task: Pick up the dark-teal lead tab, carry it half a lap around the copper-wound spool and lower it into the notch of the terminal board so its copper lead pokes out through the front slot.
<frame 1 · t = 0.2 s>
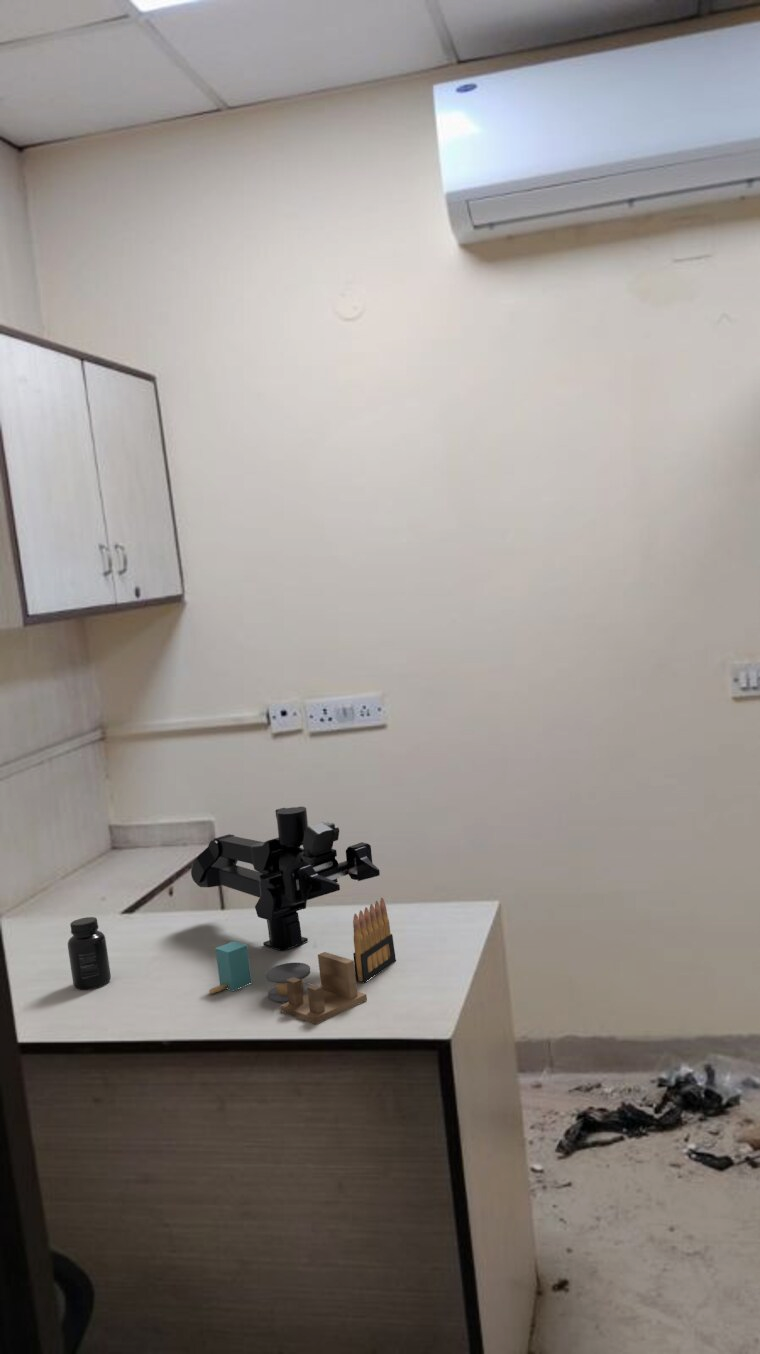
hand: (359, 879, 181), 17 cm above the table, tool horizontal, fingers open, 9 cm apart
ammunition clip: (376, 972, 182), on the table
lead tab: (236, 985, 183), on the table
notch board: (324, 1005, 169), on the table
spool: (290, 993, 176), on the table
supplement bottle: (92, 984, 191), on the table
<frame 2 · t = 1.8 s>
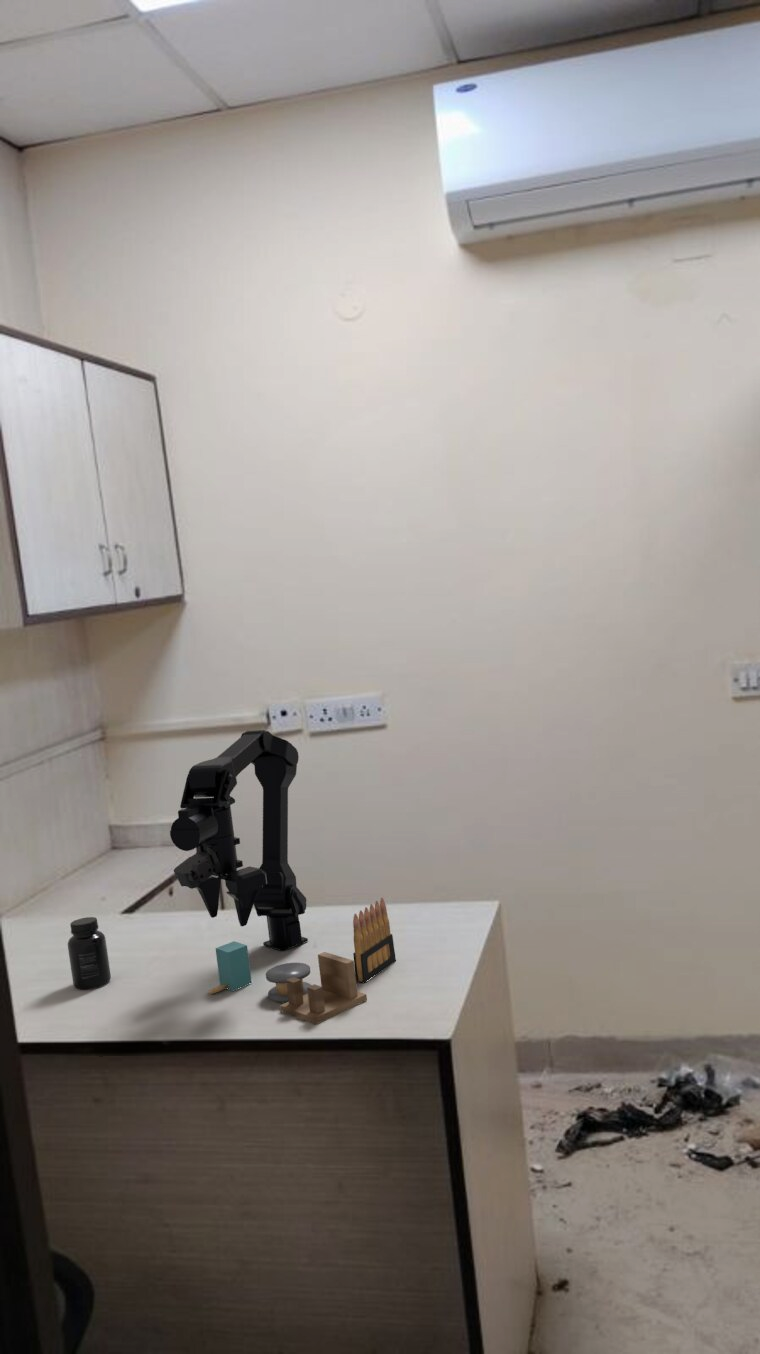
hand: (228, 921, 182), 12 cm above the table, tool pointing down, fingers open, 9 cm apart
nothing on the table moved.
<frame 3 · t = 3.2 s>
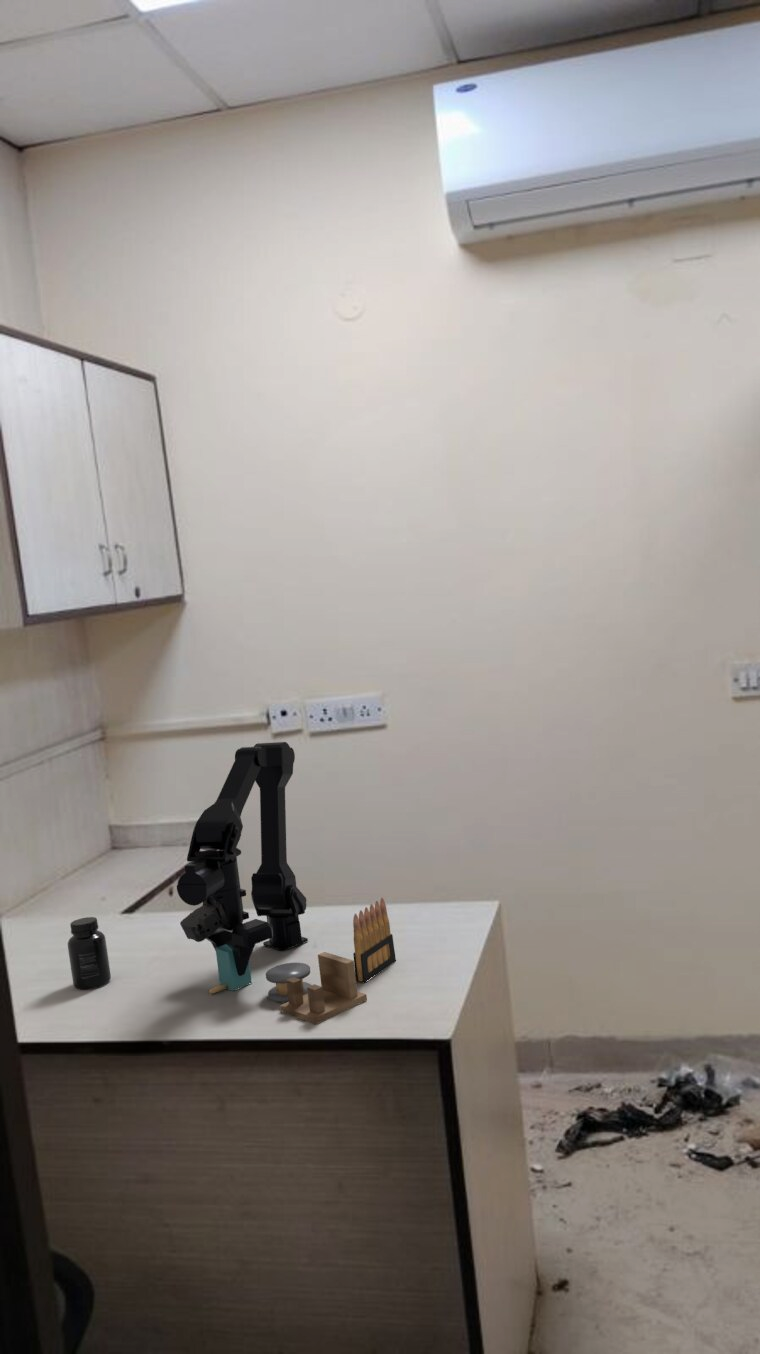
hand: (234, 972, 183), 2 cm above the table, tool pointing down, fingers closed on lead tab, 4 cm apart
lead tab: (236, 984, 183), on the table, touching gripper
everything else where it was.
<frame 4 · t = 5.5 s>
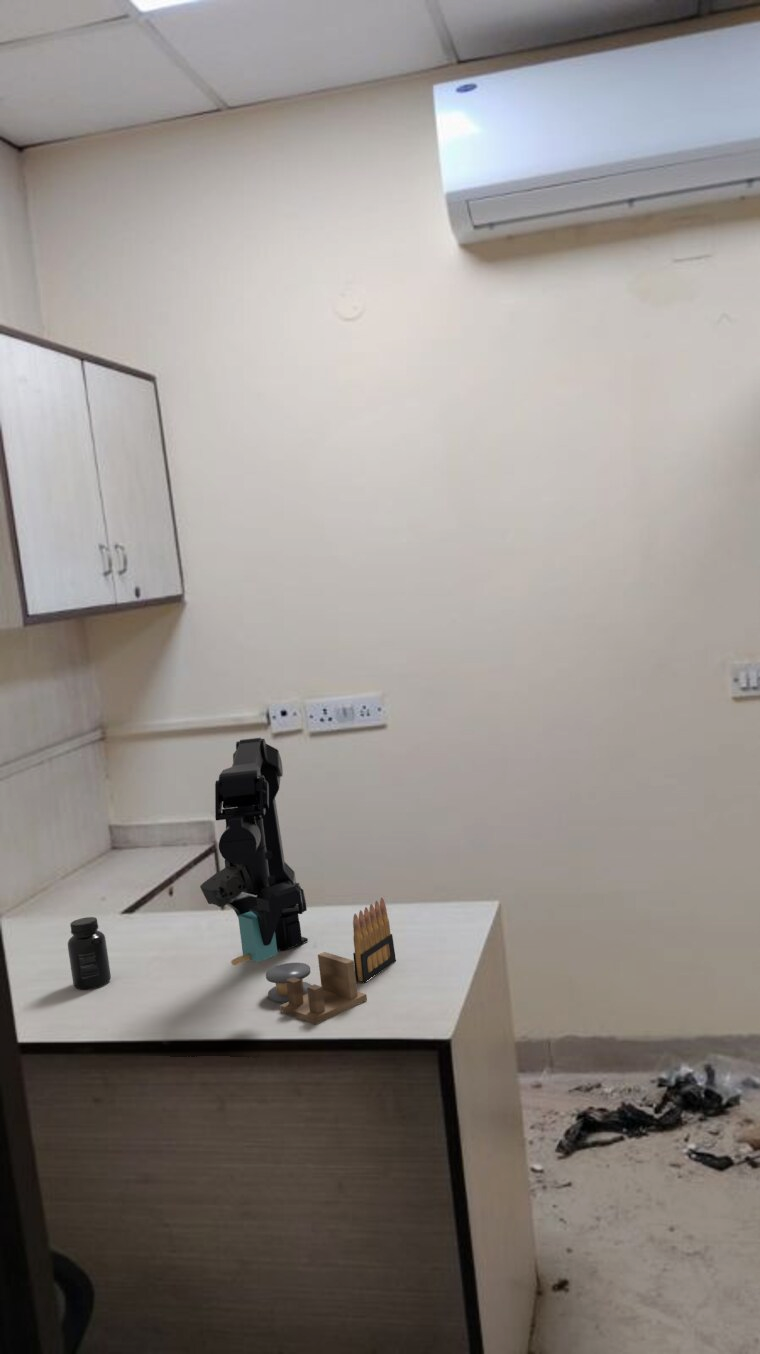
hand: (259, 942, 167), 12 cm above the table, tool pointing down, fingers closed on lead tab, 4 cm apart
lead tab: (260, 955, 167), point 10 cm above the table, touching gripper
everything else where it was.
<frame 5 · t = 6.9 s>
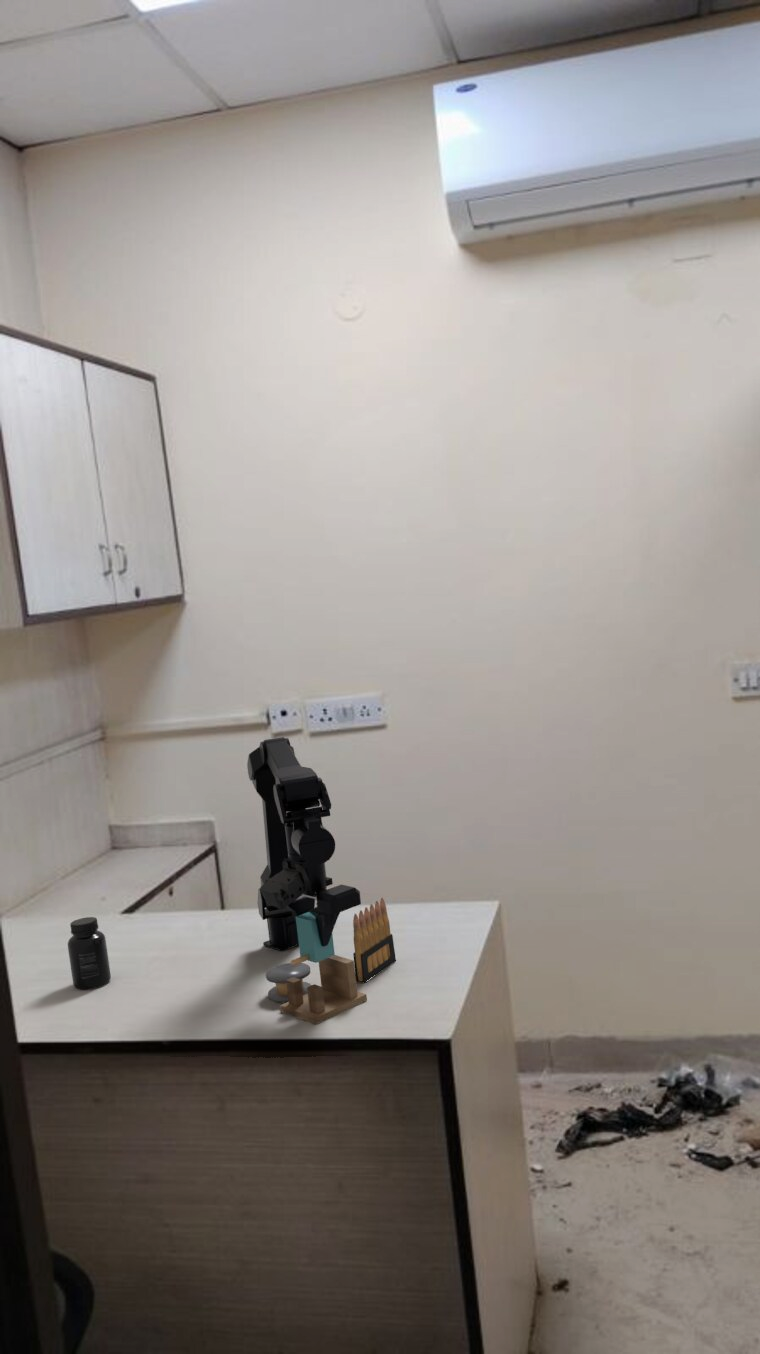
hand: (316, 943, 169), 11 cm above the table, tool pointing down, fingers closed on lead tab, 4 cm apart
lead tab: (317, 956, 169), point 8 cm above the table, touching gripper
everything else where it was.
when the fingers open (5 cm above the table, at t = 8.1 s): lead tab drops 2 cm, resting on notch board.
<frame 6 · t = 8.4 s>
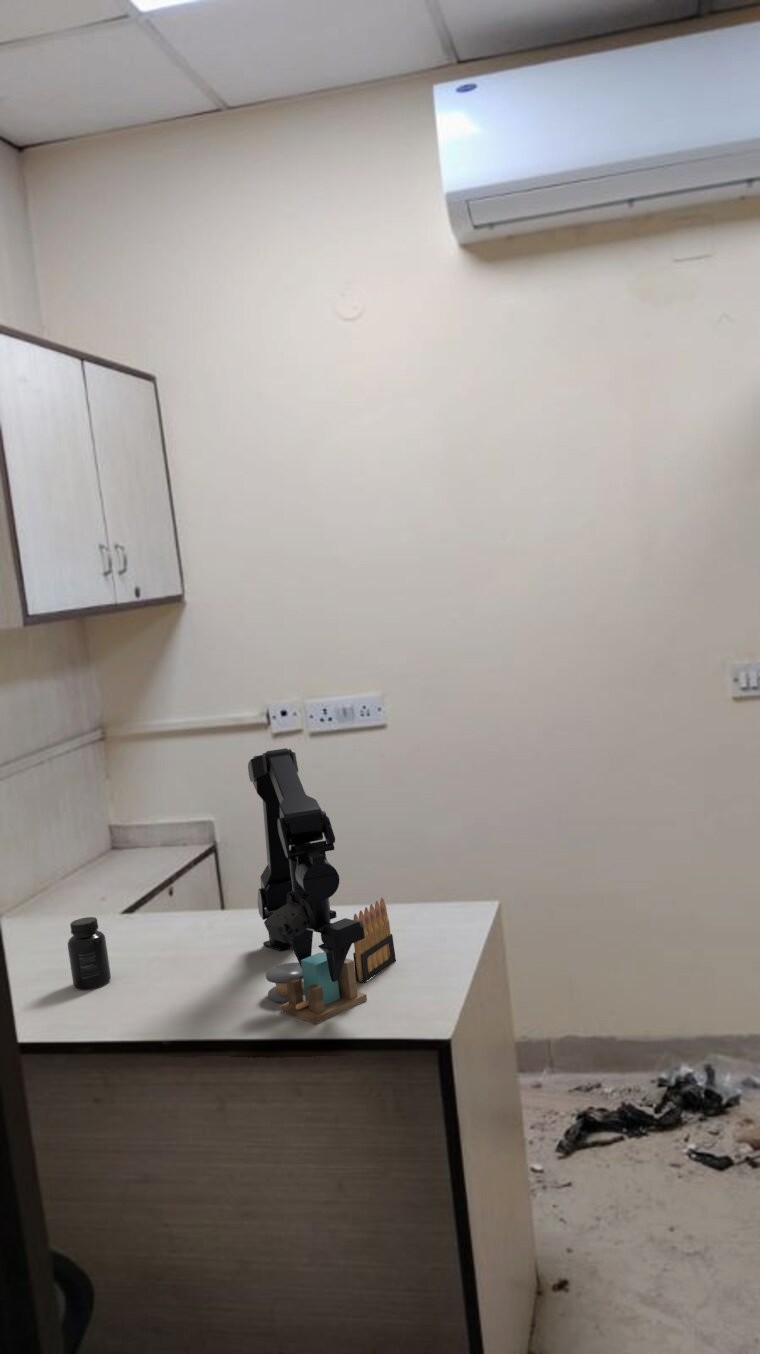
hand: (320, 976, 169), 5 cm above the table, tool pointing down, fingers open, 7 cm apart
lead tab: (322, 999, 169), point 1 cm above the table, touching notch board
everything else where it was.
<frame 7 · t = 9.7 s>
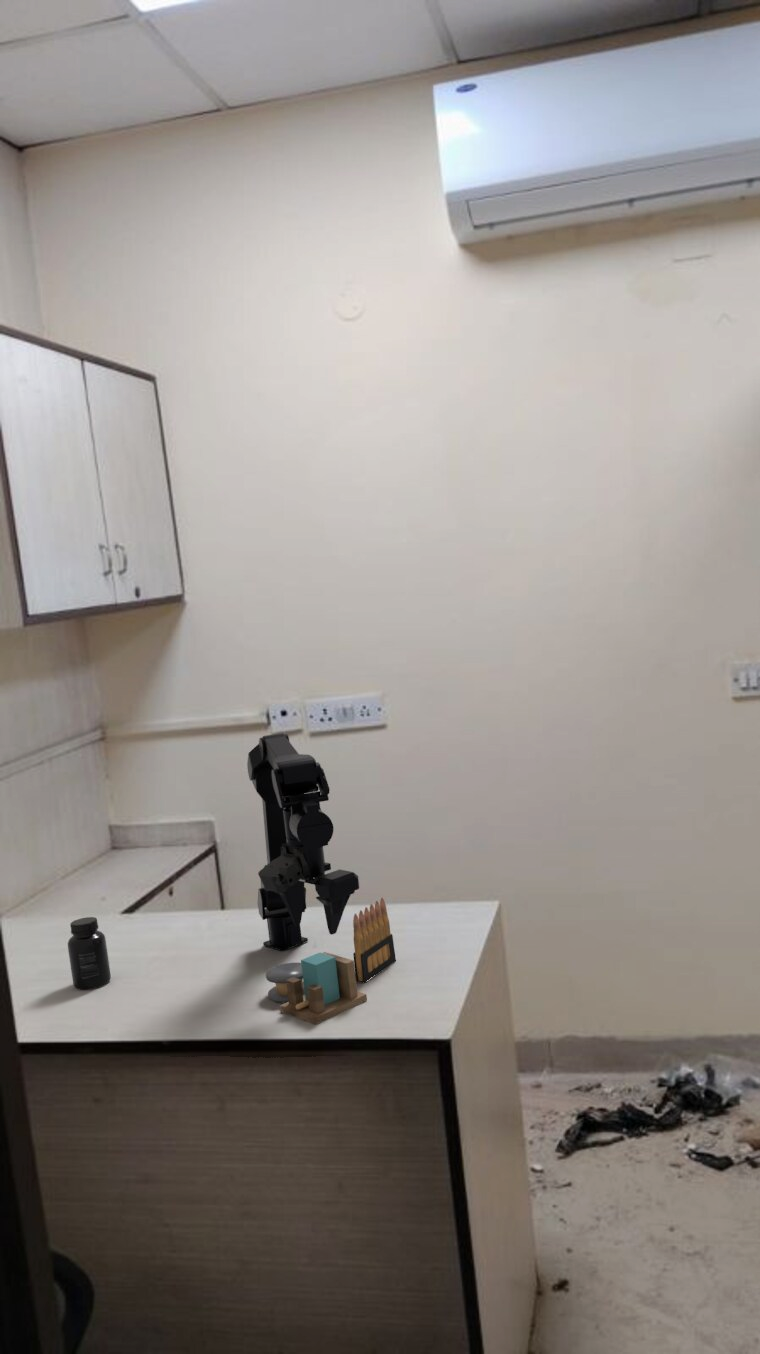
hand: (314, 928, 168), 13 cm above the table, tool pointing down, fingers open, 9 cm apart
nothing on the table moved.
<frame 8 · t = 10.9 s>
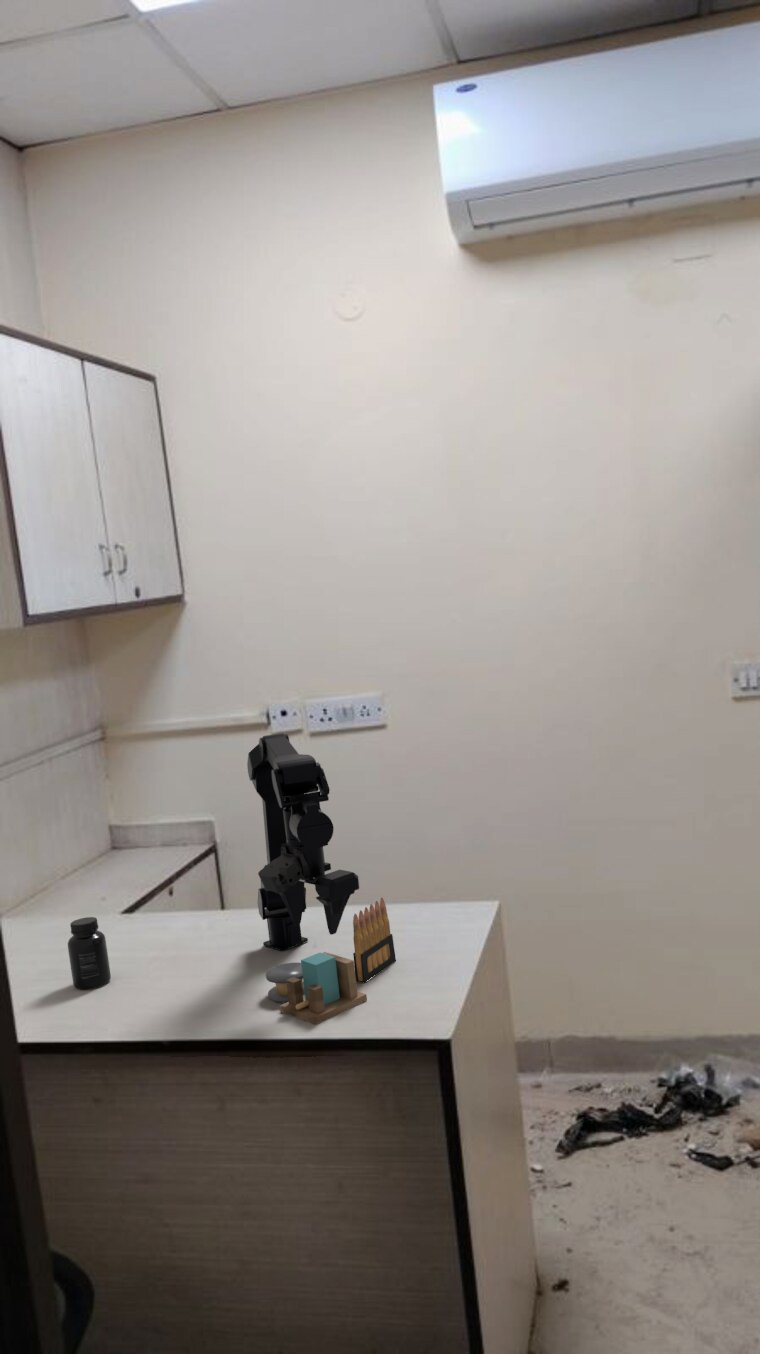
hand: (314, 928, 168), 13 cm above the table, tool pointing down, fingers open, 9 cm apart
nothing on the table moved.
at the end: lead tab 0.1 cm off-centre on the notch board, point 1.0 cm above the notch board's base; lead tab tilted 0°; the gripper is holding nothing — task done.
